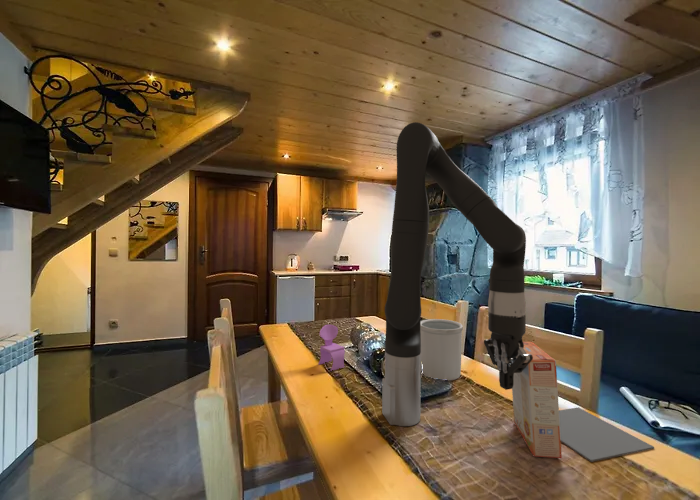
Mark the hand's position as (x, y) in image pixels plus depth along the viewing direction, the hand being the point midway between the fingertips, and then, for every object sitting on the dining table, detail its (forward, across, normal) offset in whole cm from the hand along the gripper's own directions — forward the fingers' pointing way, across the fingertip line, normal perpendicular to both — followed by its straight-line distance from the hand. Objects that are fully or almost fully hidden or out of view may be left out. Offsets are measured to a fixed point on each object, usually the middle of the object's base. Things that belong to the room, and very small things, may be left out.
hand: (506, 387), depth 72 cm
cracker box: (+13, 0, +8) cm, 16 cm away
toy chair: (+13, -57, -29) cm, 65 cm away
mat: (+13, 0, +22) cm, 26 cm away
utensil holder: (+13, -41, +7) cm, 44 cm away
